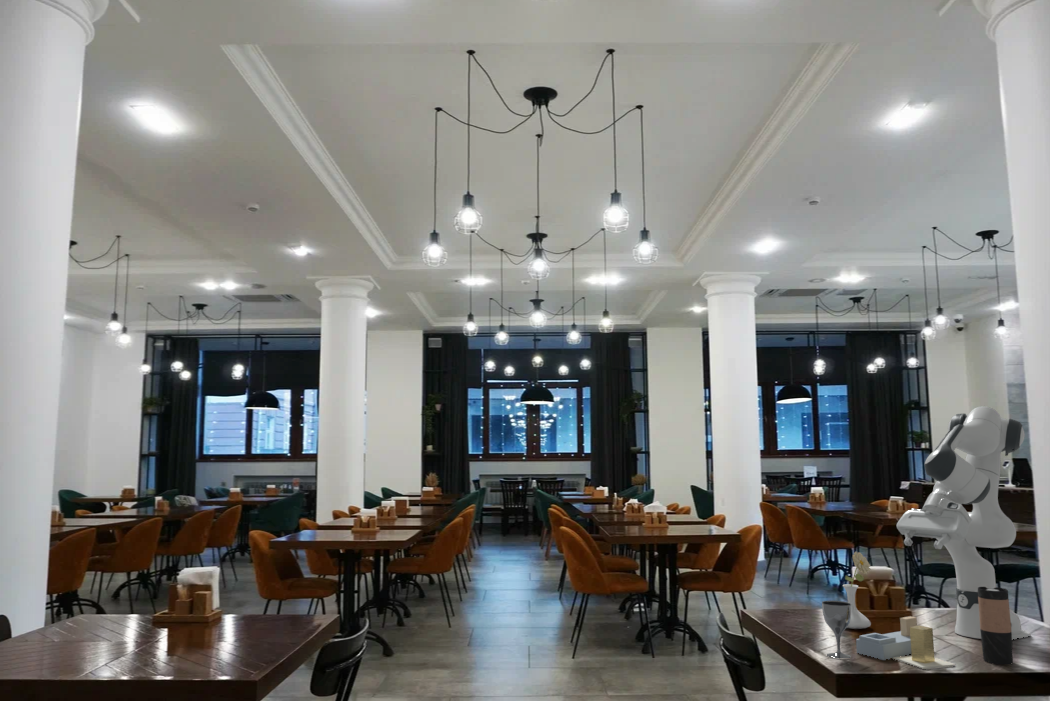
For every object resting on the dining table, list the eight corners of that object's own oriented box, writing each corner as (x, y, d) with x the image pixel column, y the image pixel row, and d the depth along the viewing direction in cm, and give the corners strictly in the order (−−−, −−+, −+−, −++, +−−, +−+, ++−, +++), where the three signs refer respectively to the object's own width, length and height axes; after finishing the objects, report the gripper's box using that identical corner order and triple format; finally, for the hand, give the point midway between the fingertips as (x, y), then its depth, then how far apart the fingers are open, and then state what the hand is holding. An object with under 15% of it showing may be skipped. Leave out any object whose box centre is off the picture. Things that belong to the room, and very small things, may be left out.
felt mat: (924, 656, 226) (924, 654, 226) (955, 666, 215) (955, 664, 215) (893, 659, 223) (893, 657, 223) (923, 669, 212) (922, 667, 212)
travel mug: (1001, 666, 215) (996, 591, 218) (976, 659, 222) (971, 587, 225) (1020, 663, 218) (1014, 589, 221) (994, 657, 225) (989, 585, 228)
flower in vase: (848, 632, 256) (844, 554, 259) (827, 624, 267) (823, 550, 270) (883, 630, 259) (878, 553, 263) (860, 622, 270) (856, 549, 274)
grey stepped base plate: (903, 644, 240) (902, 613, 242) (931, 650, 233) (929, 619, 234) (856, 653, 230) (855, 621, 231) (883, 660, 222) (881, 627, 223)
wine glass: (820, 652, 230) (817, 600, 232) (847, 652, 230) (844, 600, 232) (830, 659, 222) (827, 605, 224) (858, 660, 222) (855, 605, 224)
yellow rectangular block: (921, 658, 222) (919, 625, 223) (934, 661, 218) (932, 628, 219) (911, 660, 220) (909, 627, 221) (925, 663, 216) (922, 629, 217)
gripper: (903, 501, 244) (884, 535, 238) (967, 505, 226) (949, 542, 220) (913, 515, 245) (895, 549, 239) (977, 520, 228) (960, 557, 222)
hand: (921, 546), depth 229 cm, fingers open, 8 cm apart
